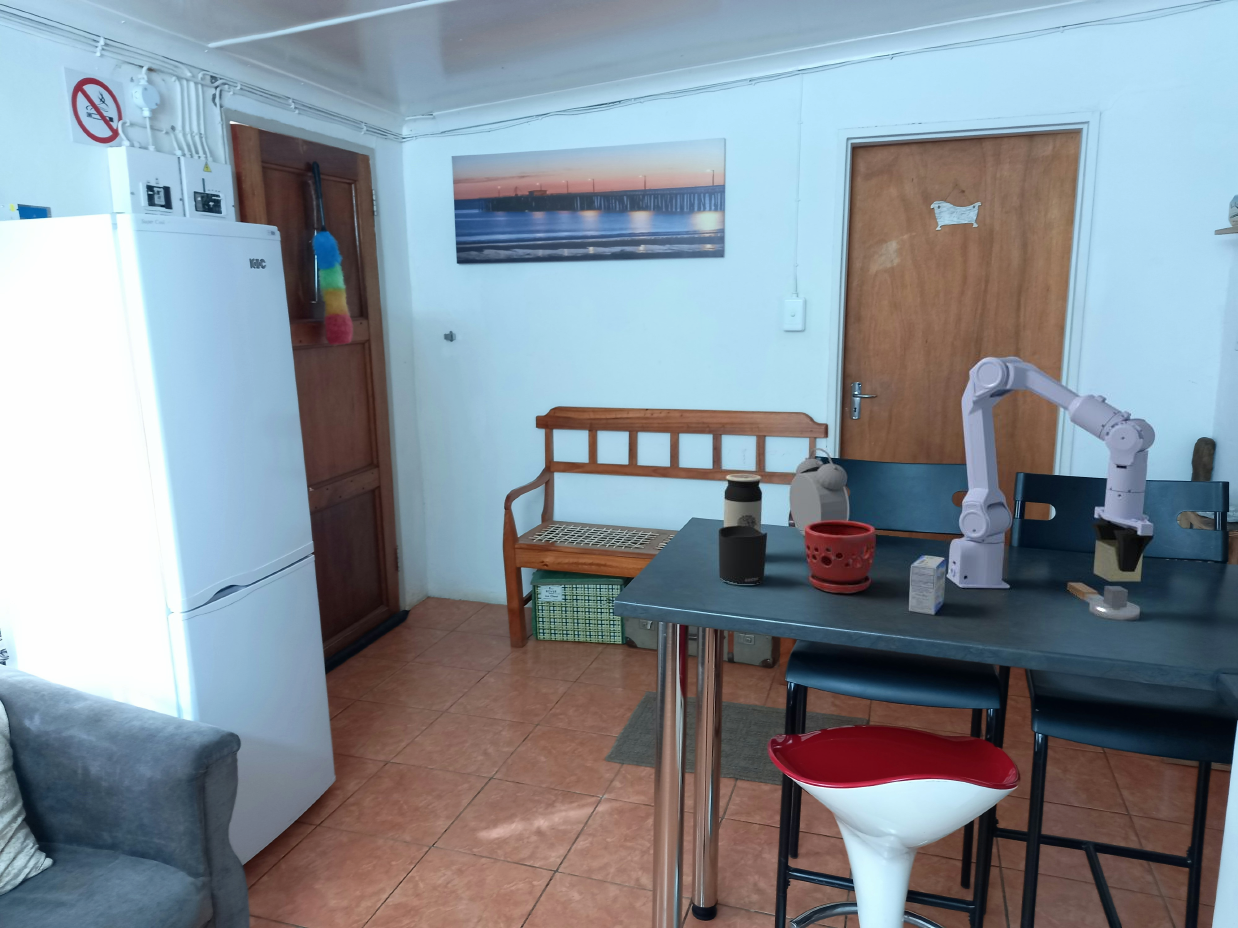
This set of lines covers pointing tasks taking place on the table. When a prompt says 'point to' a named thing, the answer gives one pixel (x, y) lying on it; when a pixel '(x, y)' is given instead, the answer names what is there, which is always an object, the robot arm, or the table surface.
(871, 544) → the plant pot
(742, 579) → the pen holder
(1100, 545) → the brushed metal cube
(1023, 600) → the table surface
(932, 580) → the medicine box
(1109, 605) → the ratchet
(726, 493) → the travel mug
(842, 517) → the alarm clock
